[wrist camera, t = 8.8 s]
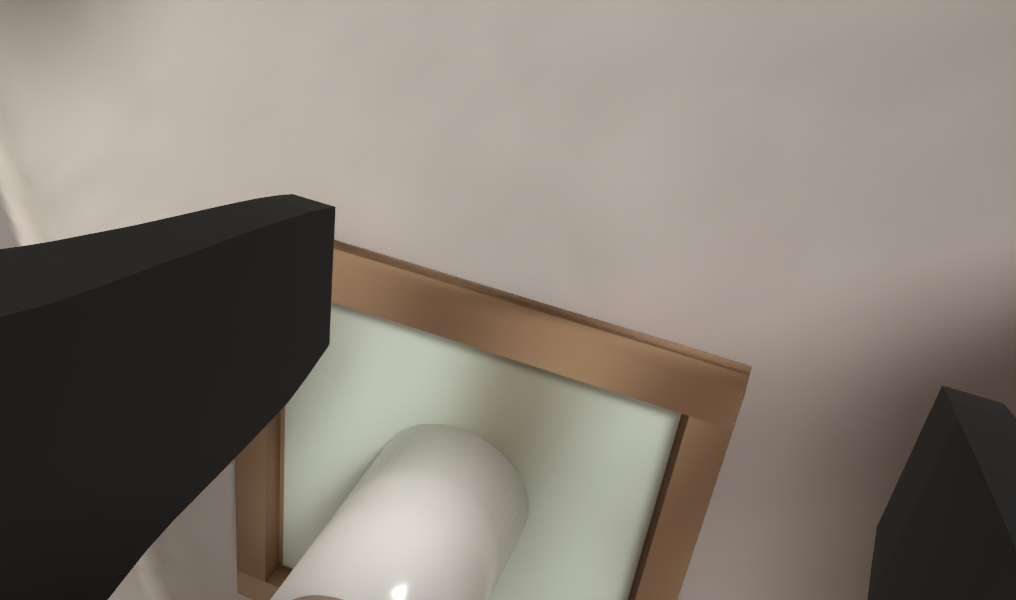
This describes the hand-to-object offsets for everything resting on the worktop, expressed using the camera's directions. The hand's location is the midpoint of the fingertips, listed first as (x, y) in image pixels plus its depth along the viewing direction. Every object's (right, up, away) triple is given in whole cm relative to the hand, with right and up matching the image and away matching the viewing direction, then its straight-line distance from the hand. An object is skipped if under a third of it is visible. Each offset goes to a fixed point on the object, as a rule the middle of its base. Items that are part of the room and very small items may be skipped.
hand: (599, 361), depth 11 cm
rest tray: (-2, -5, +15) cm, 16 cm away
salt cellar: (-3, -5, +15) cm, 16 cm away
